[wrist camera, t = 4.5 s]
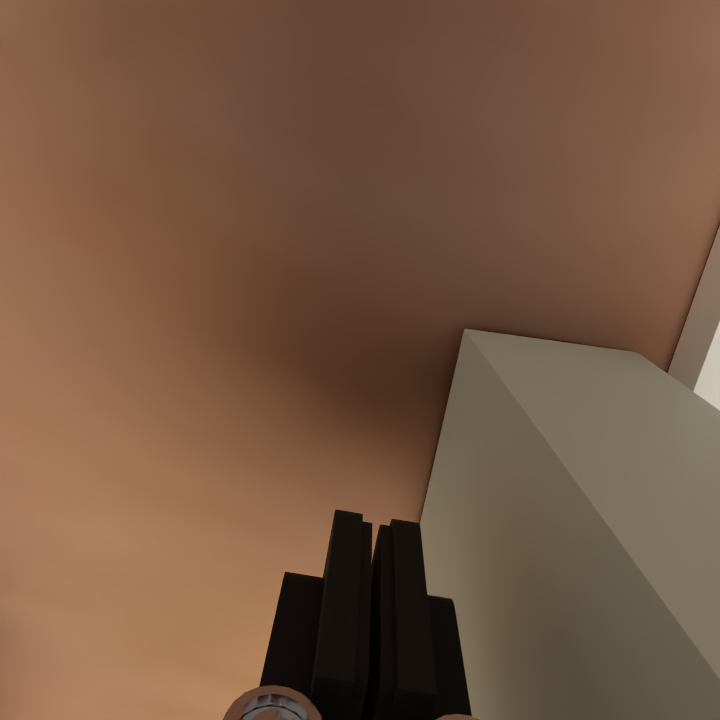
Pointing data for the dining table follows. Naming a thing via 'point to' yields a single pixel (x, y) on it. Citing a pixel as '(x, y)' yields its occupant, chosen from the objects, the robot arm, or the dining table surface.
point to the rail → (702, 336)
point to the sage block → (577, 533)
